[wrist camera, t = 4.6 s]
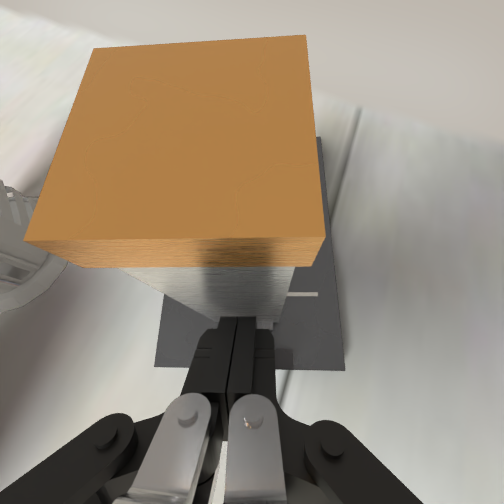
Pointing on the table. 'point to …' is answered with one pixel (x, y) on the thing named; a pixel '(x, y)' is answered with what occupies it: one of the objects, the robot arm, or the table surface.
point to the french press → (22, 254)
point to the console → (290, 323)
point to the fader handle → (191, 173)
